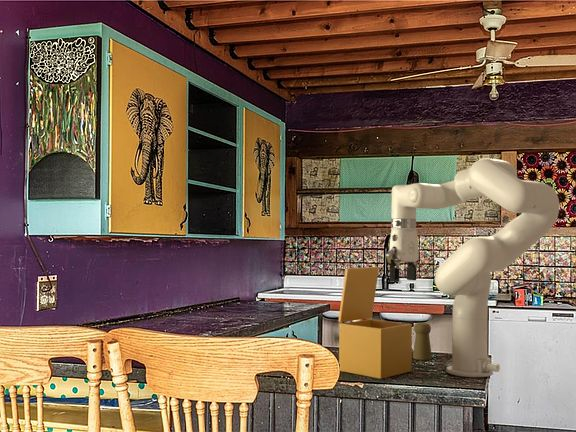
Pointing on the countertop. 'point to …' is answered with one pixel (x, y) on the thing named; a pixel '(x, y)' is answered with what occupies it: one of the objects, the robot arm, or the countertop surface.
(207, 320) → the countertop surface
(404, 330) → the chest
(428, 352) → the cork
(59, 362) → the countertop surface
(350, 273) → the lid
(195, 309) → the countertop surface
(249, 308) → the countertop surface
